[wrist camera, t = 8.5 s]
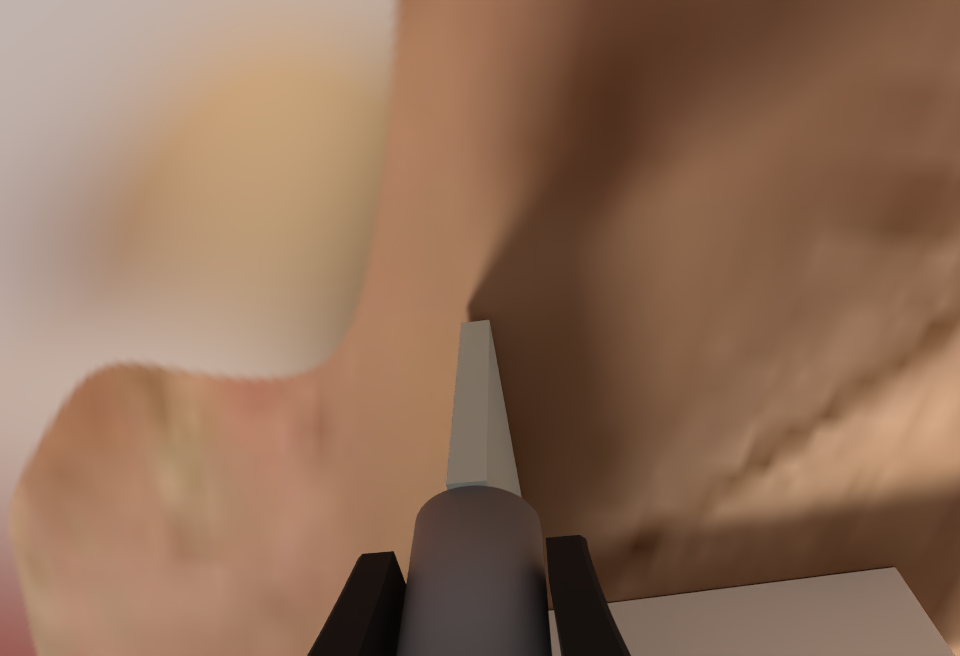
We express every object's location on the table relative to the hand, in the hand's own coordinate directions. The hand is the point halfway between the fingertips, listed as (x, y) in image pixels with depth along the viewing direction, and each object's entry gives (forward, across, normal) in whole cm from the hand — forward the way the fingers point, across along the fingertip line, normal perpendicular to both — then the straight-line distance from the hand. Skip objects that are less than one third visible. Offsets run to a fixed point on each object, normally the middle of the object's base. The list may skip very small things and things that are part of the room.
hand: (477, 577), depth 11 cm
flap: (+7, 0, +5) cm, 9 cm away
